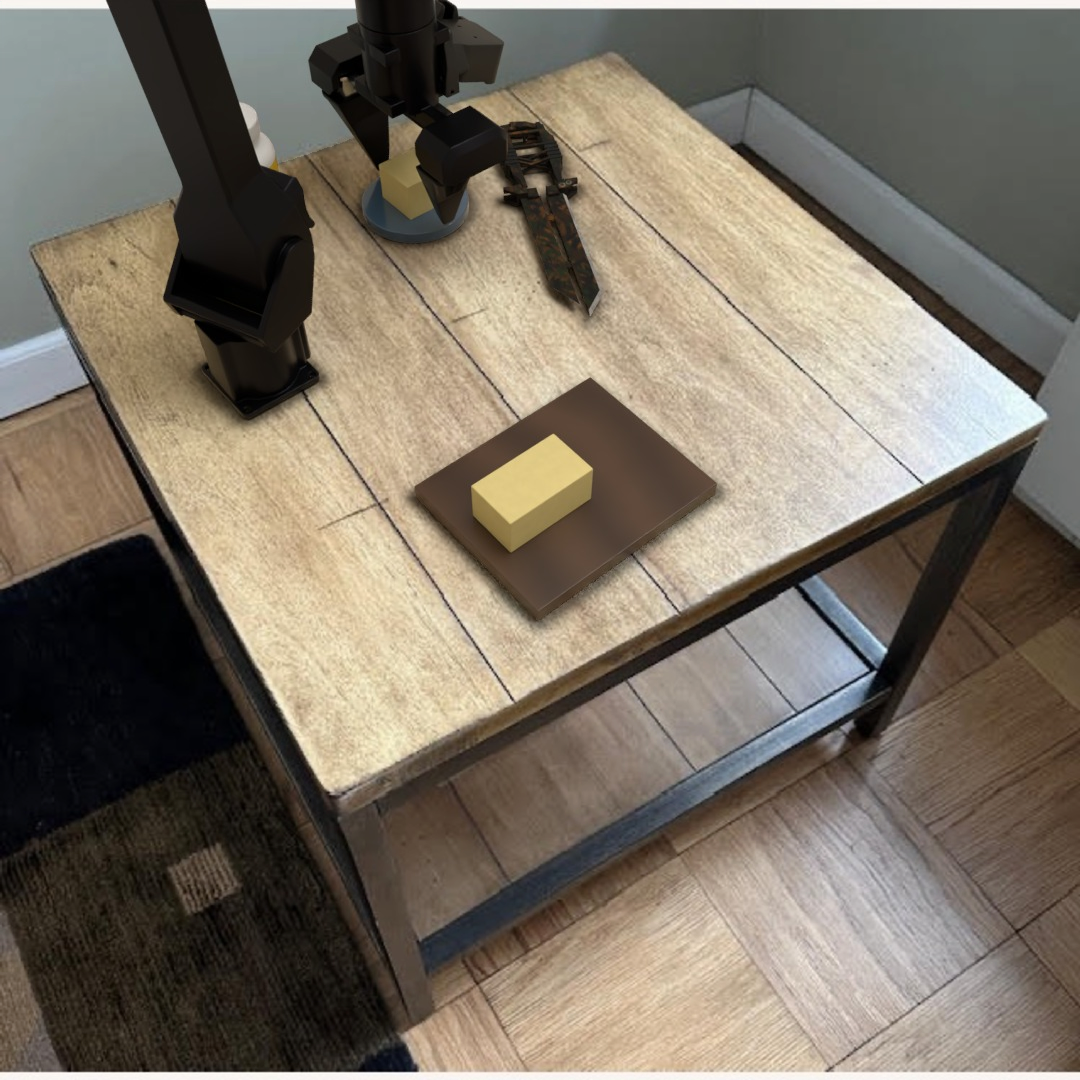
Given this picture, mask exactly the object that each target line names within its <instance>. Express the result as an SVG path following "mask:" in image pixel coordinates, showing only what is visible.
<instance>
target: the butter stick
mask: <svg viewBox="0 0 1080 1080" xmlns="http://www.w3.org/2000/svg"><path fill="white" fill-rule="evenodd" d="M592 476H593V468H592V467H590V466H589V465H588V464H587V463H586V462H585V461H584V460H583V459H582V458H580V457H579V456H578V455H577V454H576V453H575V452H574V451H573V450H571V449H570V448H569V447H568V446H567V445H566V444H565V443H564V442H562V441H561V440H560V439H559V438H558V437H557V436H556V435H555V434H552V435H550V436H549V437H547V438H546V439H544V440H542V441H541V442H539V443H538V444H536V445H535V446H533V447H531V448H530V449H528V450H527V451H525V452H524V453H522V454H520V455H519V456H517V457H516V458H514V459H513V460H511V461H509V462H508V463H506V464H505V465H503V466H502V467H500V468H498V469H497V470H495V471H494V472H492V473H491V474H489V475H487V476H486V477H484V478H483V479H481V480H480V481H478V482H476V483H475V484H473V485H472V486H471V492H472V507H473V516H474V517H475V518H476V519H477V520H478V521H479V522H480V523H481V524H482V525H483V526H484V527H485V528H486V529H487V530H488V531H489V532H490V533H491V534H492V535H493V536H494V537H495V538H496V539H497V540H498V541H499V542H500V543H501V544H502V545H503V546H504V547H505V548H506V549H507V550H508V551H509V552H513V551H514V550H516V549H517V548H519V547H520V546H522V545H523V544H525V543H526V542H528V541H529V540H531V539H532V538H533V537H535V536H536V535H538V534H539V533H541V532H542V531H544V530H545V529H547V528H548V527H550V526H551V525H553V524H554V523H556V522H557V521H559V520H560V519H562V518H563V517H564V516H566V515H567V514H569V513H570V512H572V511H573V510H575V509H576V508H578V507H579V506H581V505H582V504H584V503H585V502H587V501H588V500H590V499H591V490H592Z"/></svg>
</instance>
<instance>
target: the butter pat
mask: <svg viewBox="0 0 1080 1080" xmlns="http://www.w3.org/2000/svg"><path fill="white" fill-rule="evenodd" d="M419 164H420V163H419V161H418V159H417V157H416V153H415V147H413V148H411V149H408V150H405V151H404V152H402V153H400V154H398V155H396V156H394V157H391V158H389V160H387V161H385V162H383V163H381V164H379V171H378V172H379V177H380V178H381V186H382V194H383V197H384V198H385V199H386V200H387V201H388V202H390V203H391V204H392V205H393V206H394V207H396V208H397V209H398V210H399V211H401V212H402V213H403V214H404V215H405V216H407V217H408V218H409V219H410V220H412V219H414V218H416V217H418V216H420V215H422V214H424V213H426V212H428V211H430V210H432V209H434V207H433V205H432V202H431V200H430V198H429V196H428V194H427V191H426V189H425V187H424V185H423V183H422V181H421V178H420V176H419V174H418V172H417V169H416V166H417V165H419Z"/></svg>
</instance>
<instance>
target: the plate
mask: <svg viewBox="0 0 1080 1080" xmlns="http://www.w3.org/2000/svg"><path fill="white" fill-rule="evenodd" d="M469 201H470V200H469V193H468V191H467V188H466V189H465V192H464V194H463V197H462V200H461V203H460V205H459V208H458V211H457V214H456V216H455V219H454V220H453V221H451V222H450V223H448V224H446V225H444V224H443V223H442V222H441V221H440V219H439V217H438V215H437V213H436V211H435V209H432V210H430V211H428V212H426V213H424V214H422V215H420V216H418V217H416V218H414V219H412V220H410V219H409V218H408V217H407V216H405V215H404V214H403V213H402V212H401V211H399V210H398V209H397V208H396V207H394V206H393V205H392V204H391V203H390V202H388V201H387V200H386V199H385V198H384V197H383V194H382V186H381V178H380V176H378V177H377V178H376V179H374V180H373V181H372V182H370V184H369V185H368V186H367V187H366V189H365V190H364V192H363V194H362V196H361V212H362V217H363V219H364V221H365V223H366V225H367V226H368V228H369V229H370V230H371V231H373V233H375V234H377V235H378V236H380V237H382V238H384V239H386V240H389V241H393V242H397V243H401V244H402V243H403V244H423V243H430V242H434V241H437V240H440V239H443V238H445V237H447V236H449V235H451V234H453V233H454V232H455V231H457V230H458V229H459V228H460V227H461V226H462V225H463V224H464V223H465V222H466V220H467V218H468V215H469V210H470V202H469Z"/></svg>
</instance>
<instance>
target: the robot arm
mask: <svg viewBox="0 0 1080 1080" xmlns="http://www.w3.org/2000/svg"><path fill="white" fill-rule="evenodd" d="M105 2H106V5H107V6H108V9H109V12H110V14H111V16H112V19H113V21H114V24H115V26H116V29H117V30H118V33H119V36H120V38H121V41H122V43H123V45H124V47H125V51H127V52H126V53H127V54H128V57H129V60H130V62H131V64H132V67H133V69H134V72H135V74H136V76H137V79H138V81H139V84H140V87H141V89H142V91H143V94H144V95H145V99H146V101H147V103H148V105H149V107H150V110H151V112H152V113H151V114H152V115H153V118H154V120H155V122H156V125H157V126H158V129H159V132H160V135H161V137H162V139H163V141H164V145H165V146H166V148H167V151H168V153H169V155H170V158H171V161H172V163H173V165H174V168H175V171H176V173H177V176H178V177H179V180H180V184H181V186H182V187H181V190H180V193H179V196H178V199H177V201H176V204H175V208H174V211H173V213H172V219H173V223H174V227H175V231H176V234H177V238H178V242H177V245H176V249H175V252H174V255H173V259H172V262H171V266H170V271H169V274H168V277H167V281H166V285H165V288H164V291H163V297H162V301H163V302H164V303H165V304H166V305H167V306H168V307H169V309H170V310H171V311H172V312H173V313H174V314H176V315H178V316H181V317H183V316H184V317H186V318H189V319H191V320H193V323H194V326H195V329H196V332H197V335H198V338H199V341H200V344H201V347H202V350H203V353H204V356H205V360H206V363H204V364H203V365H202V366H201V372H202V373H203V375H204V376H205V377H206V378H207V379H208V380H209V382H210V383H211V384H212V385H213V387H215V388H216V389H217V390H218V391H219V393H220V394H221V395H222V396H223V397H224V398H225V399H226V400H227V401H228V402H229V404H230V405H231V406H232V407H233V408H234V409H235V411H237V412H238V413H239V414H240V415H241V417H243V418H244V419H247V420H248V419H252V418H254V417H255V416H258V415H259V414H261V413H264V412H265V411H267V410H269V409H271V408H272V407H274V406H276V405H278V404H279V403H281V402H283V401H285V400H287V399H289V398H291V397H292V396H294V395H296V394H297V393H300V392H302V391H303V390H305V389H306V388H309V387H311V386H312V385H314V384H316V383H317V382H319V380H320V378H321V376H320V372H319V371H318V370H317V369H316V368H315V367H314V365H312V364H311V362H309V361H308V360H309V359H311V355H312V352H311V347H310V343H309V339H308V335H307V330H306V326H305V325H306V324H305V321H306V320H307V319H308V318H309V317H310V316H311V314H312V312H313V301H314V300H313V299H314V278H315V258H316V257H315V246H314V240H313V239H314V238H313V234H312V232H311V229H313V228H314V227H315V226H316V222H315V220H313V218H312V217H311V216H310V213H309V211H308V207H307V204H306V203H307V202H306V199H305V198H306V196H305V190H304V188H303V186H302V184H301V182H300V180H299V179H298V178H297V177H296V176H294V175H290V174H287V173H284V172H282V171H280V170H279V171H276V170H273V169H271V168H268V167H265V166H262V165H260V163H259V161H258V158H257V155H256V152H255V149H254V146H253V143H252V140H251V137H250V134H249V131H248V128H247V125H246V122H245V119H244V116H243V113H242V110H241V107H240V104H239V102H240V101H239V98H238V94H237V92H236V89H235V86H234V83H233V79H232V77H231V74H230V71H229V67H228V65H227V62H226V59H225V56H224V52H223V50H222V47H221V43H220V41H219V37H218V34H217V32H216V29H215V25H214V22H213V19H212V16H211V13H210V10H209V7H208V3H207V1H206V0H105ZM354 5H355V13H356V20H357V22H355V23H352V24H350V25H347V26H346V31H347V32H344V33H342V34H340V35H338V36H335V37H333V38H330V39H328V40H325V41H322V42H320V43H318V44H316V45H315V46H314V48H313V49H312V52H311V54H310V56H309V57H308V59H307V62H308V68H309V73H310V80H311V82H312V83H313V84H314V85H316V86H317V87H318V88H320V89H321V94H322V96H323V98H324V99H326V100H327V102H328V103H329V105H331V107H332V108H333V110H334V111H335V113H336V114H337V115H338V116H339V119H341V121H342V122H343V124H344V125H345V127H346V128H347V129H348V131H349V132H350V133H351V135H352V136H353V138H354V139H355V140H356V142H357V143H358V145H359V146H360V148H361V150H362V151H363V152H364V154H365V155H366V157H367V158H368V159H369V161H370V163H371V165H372V166H373V167H374V168H375V170H376V171H377V172H380V171H379V164H381V163H383V162H385V161H387V160H389V159H390V153H391V151H390V121H389V120H390V119H391V120H393V119H395V118H398V117H399V116H400V117H401V116H402V115H403V116H405V117H406V118H407V119H409V120H410V121H411V122H413V123H414V124H415V125H416V126H418V127H419V128H420V129H421V131H419V134H418V136H417V138H416V139H415V141H414V148H415V153H416V157H417V159H418V161H419V163H420V164H419V165H417V166H416V169H417V172H418V174H419V176H420V178H421V181H422V183H423V185H424V187H425V189H426V191H427V194H428V196H429V198H430V200H431V202H432V205H433V207H434V209H435V211H436V213H437V215H438V217H439V219H440V221H441V222H442V223H443V224H444V225H446V224H448V223H450V222H451V221H453V220H454V219H455V216H456V214H457V211H458V208H459V205H460V203H461V200H462V197H463V194H464V192H465V189H466V190H467V186H468V183H469V181H470V180H471V178H472V177H475V176H477V175H479V174H480V173H483V172H484V171H486V170H488V169H491V168H492V167H494V166H497V165H498V164H501V162H502V161H504V160H506V159H507V155H508V132H507V131H506V130H504V129H503V128H502V127H500V126H501V125H499V124H497V123H496V122H495V121H493V120H492V119H491V118H490V117H488V116H486V115H485V114H484V113H482V112H481V111H479V110H478V109H476V108H475V107H473V106H472V105H468V106H465V107H463V108H462V109H459V110H457V111H455V112H452V110H450V109H449V108H447V107H446V106H445V105H443V104H442V103H440V98H442V97H443V96H444V97H445V98H447V99H448V98H450V97H453V96H455V95H457V94H459V93H460V83H461V84H463V83H464V84H466V83H484V84H485V85H493V84H495V82H496V78H497V75H498V70H499V67H500V62H501V59H502V55H503V50H504V46H505V42H504V40H503V39H501V38H500V37H499V36H496V35H495V34H494V33H492V31H489V30H488V29H487V28H485V27H483V26H482V25H480V24H479V23H477V22H475V21H472V20H469V19H467V17H465V16H463V15H459V10H458V6H457V5H456V4H454V3H452V2H451V1H450V0H354Z"/></svg>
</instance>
